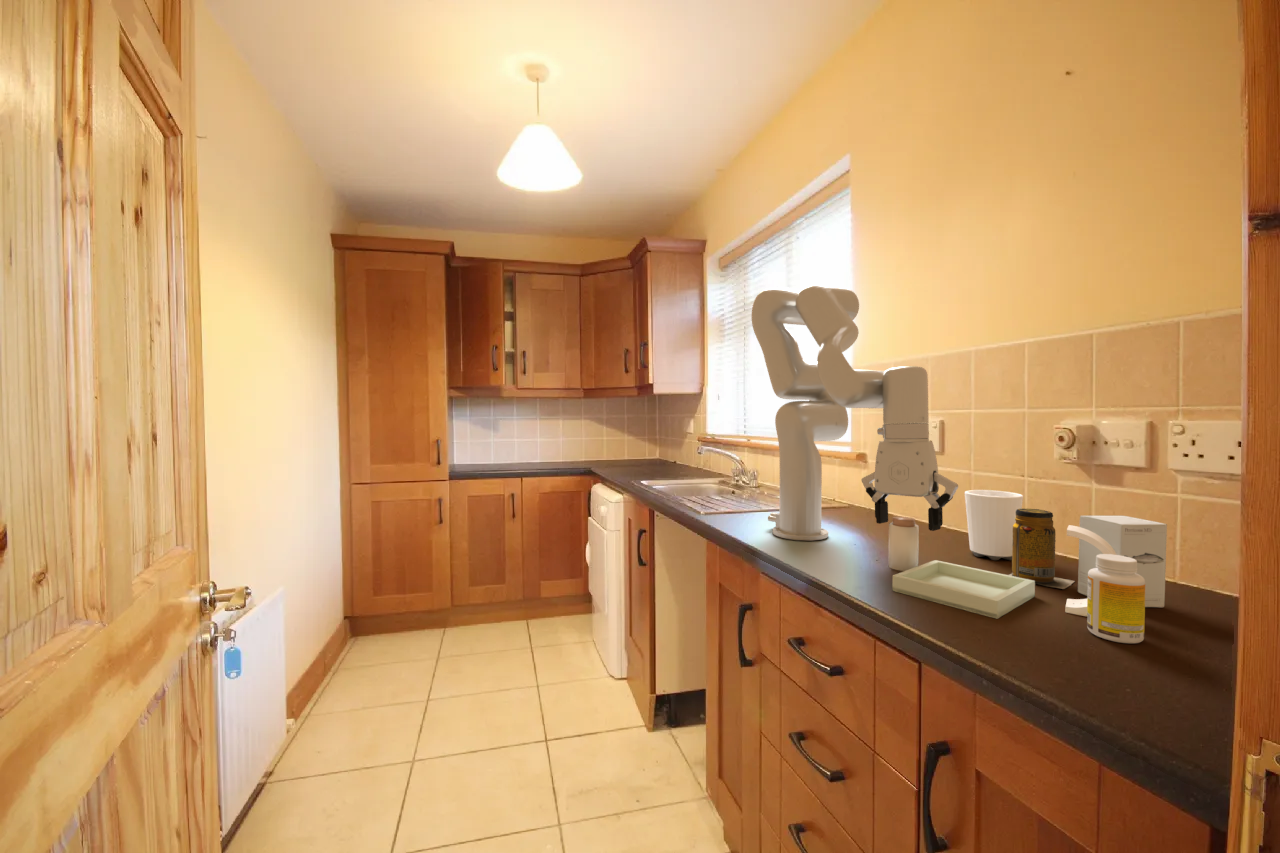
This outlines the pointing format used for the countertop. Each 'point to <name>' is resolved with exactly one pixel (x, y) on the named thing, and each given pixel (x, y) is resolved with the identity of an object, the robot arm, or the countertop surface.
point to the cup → (991, 522)
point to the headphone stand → (1081, 604)
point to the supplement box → (1128, 551)
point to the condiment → (1035, 548)
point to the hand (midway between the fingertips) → (907, 526)
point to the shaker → (903, 543)
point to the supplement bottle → (1116, 599)
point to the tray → (965, 587)
